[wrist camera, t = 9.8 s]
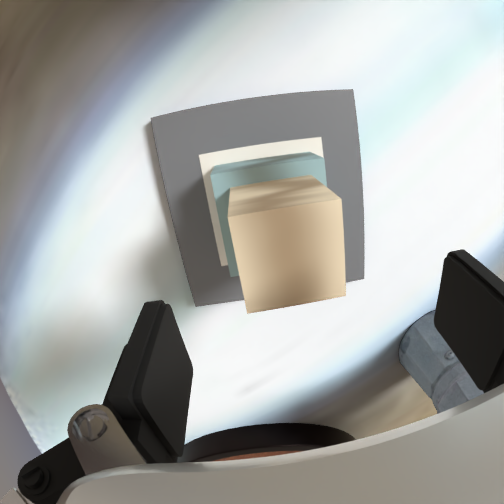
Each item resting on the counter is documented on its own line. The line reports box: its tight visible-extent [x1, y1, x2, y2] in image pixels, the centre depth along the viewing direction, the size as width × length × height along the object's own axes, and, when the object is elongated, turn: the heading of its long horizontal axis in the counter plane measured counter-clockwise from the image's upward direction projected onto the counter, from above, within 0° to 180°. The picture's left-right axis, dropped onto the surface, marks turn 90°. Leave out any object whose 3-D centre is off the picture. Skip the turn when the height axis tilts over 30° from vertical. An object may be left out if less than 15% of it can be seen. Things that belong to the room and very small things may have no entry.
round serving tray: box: [177, 423, 355, 463], centre depth 41 cm, size 31×4×31 cm
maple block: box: [228, 175, 346, 314], centre depth 17 cm, size 5×5×6 cm
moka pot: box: [399, 310, 484, 414], centre depth 23 cm, size 10×15×20 cm, turn 53°
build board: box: [151, 89, 364, 307], centre depth 24 cm, size 15×16×1 cm
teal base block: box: [210, 152, 327, 277], centre depth 22 cm, size 7×7×4 cm
